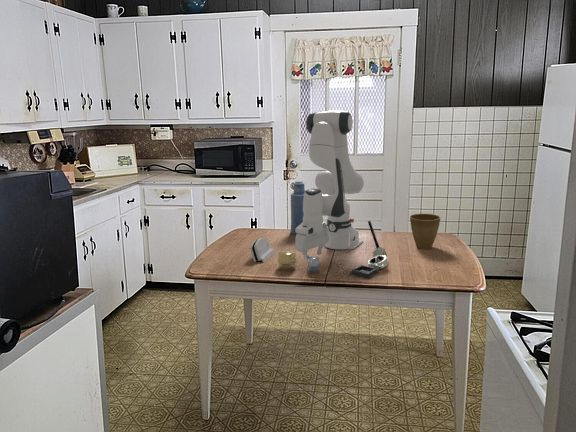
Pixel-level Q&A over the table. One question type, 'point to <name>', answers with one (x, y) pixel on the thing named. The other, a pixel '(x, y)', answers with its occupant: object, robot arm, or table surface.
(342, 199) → the robot arm
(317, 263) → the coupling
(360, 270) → the flange socket
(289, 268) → the cylinder
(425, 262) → the table surface
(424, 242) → the plant pot
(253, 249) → the grey bevelled device
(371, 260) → the butterfly valve
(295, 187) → the bottle
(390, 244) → the table surface
